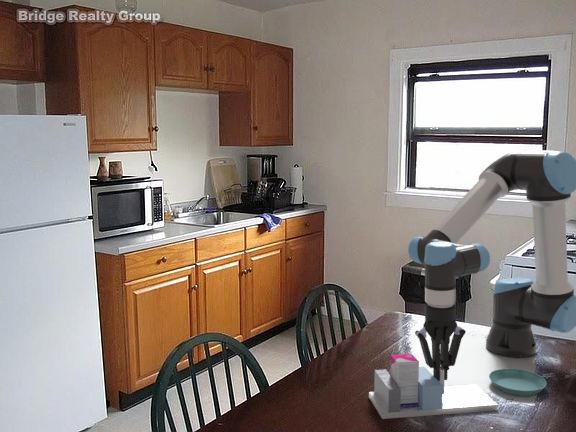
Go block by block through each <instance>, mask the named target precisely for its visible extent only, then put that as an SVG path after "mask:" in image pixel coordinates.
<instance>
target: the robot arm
mask: <svg viewBox="0 0 576 432" xmlns="http://www.w3.org/2000/svg"><path fill="white" fill-rule="evenodd" d="M516 190H520V191H522V190H523V191H525V192H526V200H527V201H528V202H530V204H531V205H532V217H533V218H532V219H533V241H534V242H533V243H534V261H535V262H534V264H535V267H534V268H535V281H534V279H532V278H526V277H525V278H524V277H510V278H508V277H507V278H502V279H498V280H496V281H495V284H494V287H493V293H492V295H493V306H492V307H493V308H492V325H491V327H490V329H489V332H488V335H487V337H486V341H485V347H486V349H487V350H488V351H490V352H492V353H494V354H497V355H499V356H504V357H508V358H509V357H510V358H528V357H533V356H534V355H536V353H537V344H536V339H535V336H534V333H533V329H532V326H536V327H539V328H543V329H546V330H549V331H551V332H556V333H562V334H567V333H571V331H573V330H574V329H575V328H576V294H575V291H574V290H575V287H574V285H573V283H571V282H570V281H568V279H569V277H568V274H569V273H568V253H567V252H568V250H567V249H568V248H567V219H566V217H567V216H566V214H567V213H566V202H568V201H569V200H570V199H571V197H572V193H574V192H575V191H576V158H575V156H573V155H572V154H571V153H569V152H566V151H558V150H553V149H552V150H550V149H548V150H547V149H546V150H539V149H538V150H532V149H531V150H530V149H529V150H526V149H520V150H514V151H511V152H508V153H506V154H504V155H503V156H501V157H499V158H498V159H496V160H494V162H492V163H490V164H489V165H488V166H487V167H486V168H485V169H484V170H483V171H482V172H481V173H480V174H479V175H478V181H477V182H476V183H475V184H474V185H473V187H471V188H470V190H469V191H467V193H466V194H465V195H463V197H462V198H461V199H460V200H459V201H458V202H457V203H456V204H455V205H454V206H453V208H451V210H449V212H447V213H446V215H445V216H444V217H443V218H442V219H441V220H440V221H439V222H438V223H437V224H436V226H434V228H432V229H431V231H430V232H428V233H427V235H426V236H423V235H422V236H415V237H413V238H412V239H411V240H410V242H409V243H408V244H409V245H408V247H407V249H408V250H407V254H408V256H409V258H410V260H411V261H412V262H415V263H418V264H420V265H421V266H424V302H425V304H424V323H423V326H422V328H421V329H420V330H416V331H415V332H414V334H415V336H416V337H417V339H419V343H420V344H419V345H420V347H421V351H422V354H423V358H424V361H425V364H426V365H427V366H428V367H429V368H430V369H433V370H432V371H433V372H432V375H433V376H434V377H435V378H436V379H437V380H438V381H439V382H440V383H441V384H442V385H443V391H442V394H444V387H445V381H447V380H448V371H449V370H450V367H454V366H455V365H456V361H457V357H458V354H459V351H460V346H461V343H462V339H463V338H464V336H465V334H466V333H467V332H466V330H465V329H464V328H463V327H461V326H458V324H457V322H456V318H457V317H456V316H457V315H456V314H457V313H456V312H457V311H456V310H457V309H456V308H457V306H456V301H457V293H456V291H457V290H456V288H457V287H456V286H457V282H456V281H457V279H456V278H459V277H463V276H468V275H474V274H479V272H483V271H485V270H486V269H488V267H489V265H490V261H491V256H490V252H489V250H488V248H487V247H486V246H485V245H483V244H481V243H469V244H462V243H459V242H460V241H461V239H462V238H463V237H464V236H465V235H466V234H467V233H468V231H470V230H471V228H472V227H473V226H475V224H476V223H477V222H478V221H479V220H480V219H481V217H482V216H484V214H485V213H486V212H487V211H488V210H489V209H490V208H491V207H492V206H493V205H494V203H496V201H497V200H499V198H501V199H502V198H503V197H504V198H505V197H506V196H507V195H508V194H509V193H510V192H511V191H516ZM427 334H428V335H427ZM427 336H429V337H430V341H431V350H430V347H429V344H428V341H427ZM451 336H452V338H451Z"/></svg>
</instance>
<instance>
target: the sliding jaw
mask: <svg viewBox="0 0 576 432" xmlns="http://www.w3.org/2000/svg"><path fill="white" fill-rule="evenodd" d="M442 391H443V385H442V384H441V383H440V382H439V381H438V380H437V379H436V378H435V377H434V376H433V373H432V372H431V371H429V369H427V368H426V366H419V384H418V405H419V406H420V407H421V409H422V410H429V409H442Z"/></svg>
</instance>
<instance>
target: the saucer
mask: <svg viewBox="0 0 576 432" xmlns="http://www.w3.org/2000/svg"><path fill="white" fill-rule="evenodd" d="M488 377H489V380H490V381H491V383H492V384H493V386H495V387H496V388H497V389H498V390H500V391H501V392H503V393H505V394H508V395H512V396H519V397H530V396H534V395H536V394H538V393H540V392H541V391H543V389H545V388H546V386H547V385H548V384H547V380H546V379H545V378H544V377H543V376H541V375H540V374H537V373H534V372H532V371H528V370H525V369H521V368H520V369H518V368H500V369H496V370H493V371H491V372H490V373H489V375H488Z"/></svg>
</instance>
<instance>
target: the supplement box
mask: <svg viewBox="0 0 576 432" xmlns="http://www.w3.org/2000/svg"><path fill="white" fill-rule="evenodd" d="M419 367H420V361H419V360H418V359H417V358H416V357H415V356H414V354H412V353H402V354H401V353H400V354H391V355H390V376H391V377H392V378H393V379H394V381H395V382H396V383H397V384H398V386H399V387H400V388H401V399H400V406H405V405H417V404H418V384H419Z"/></svg>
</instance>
